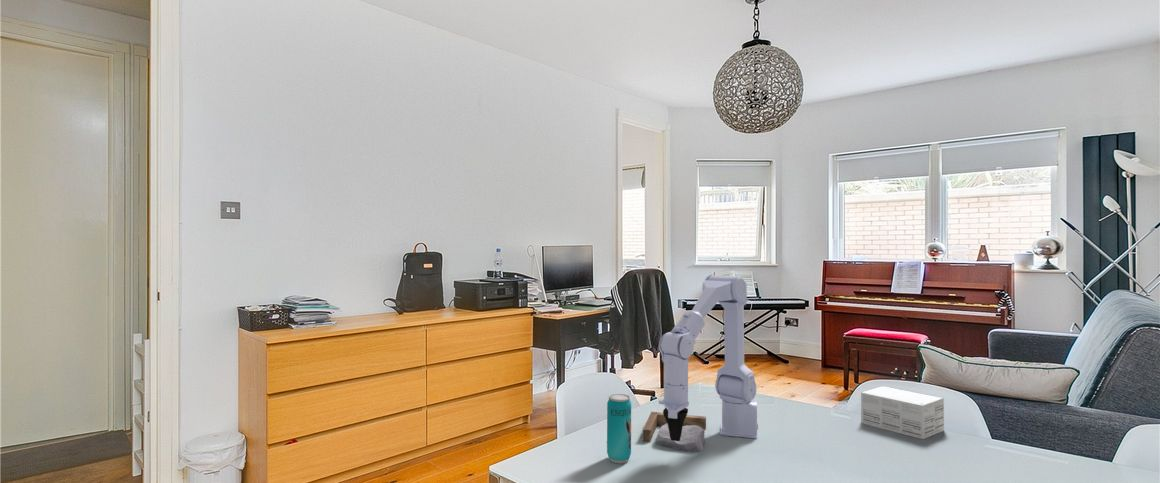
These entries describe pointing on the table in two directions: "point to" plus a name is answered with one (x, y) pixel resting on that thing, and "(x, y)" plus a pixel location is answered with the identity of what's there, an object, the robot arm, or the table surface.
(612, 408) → the beverage can
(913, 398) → the supplement box
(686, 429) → the stone block
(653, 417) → the dock
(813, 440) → the table surface
